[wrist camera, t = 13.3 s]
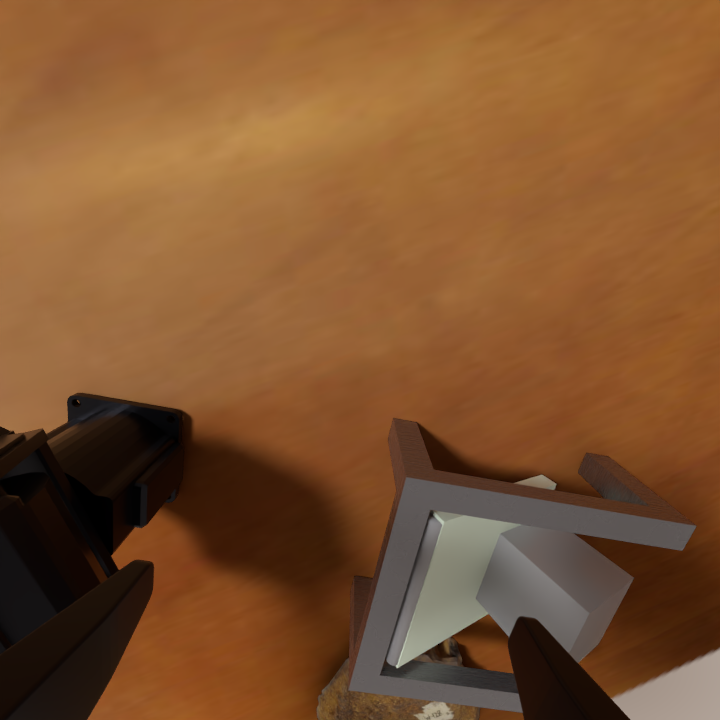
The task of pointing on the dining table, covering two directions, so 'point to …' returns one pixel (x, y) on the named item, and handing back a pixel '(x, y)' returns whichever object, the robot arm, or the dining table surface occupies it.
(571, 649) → the gray cube
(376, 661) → the frame
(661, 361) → the dining table surface
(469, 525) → the trapdoor
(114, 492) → the robot arm
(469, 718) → the decorative rock
